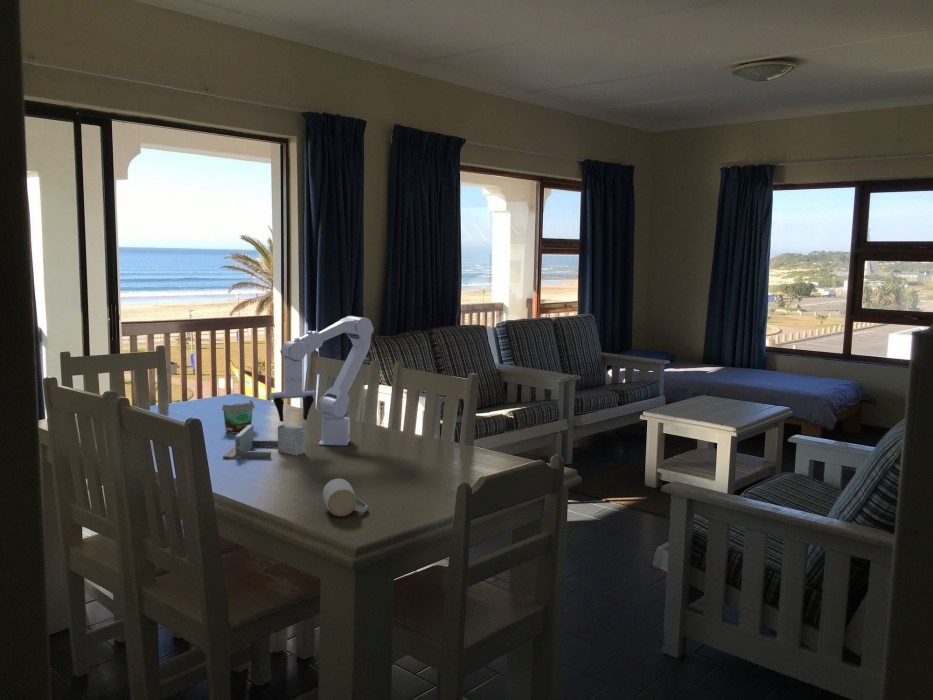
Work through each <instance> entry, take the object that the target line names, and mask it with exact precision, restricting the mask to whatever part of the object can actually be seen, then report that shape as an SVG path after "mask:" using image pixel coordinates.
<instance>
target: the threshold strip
mask: <svg viewBox="0 0 933 700" xmlns="http://www.w3.org/2000/svg"><path fill="white" fill-rule="evenodd" d="M222 459H223V460H234V459H236V451H235V445H234V446H233V447H232V448H231V449H229V451H228V452H227V453H225V454H224V455H223V457H222Z"/></svg>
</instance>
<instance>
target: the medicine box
mask: <svg viewBox="0 0 933 700" xmlns="http://www.w3.org/2000/svg"><path fill="white" fill-rule="evenodd" d="M305 435H306V431H305V426H301V425H296V424H291V423H285V424H281V425H278V426H277V441H278V447H277V452H278V453H281V452H282V454H286V453H287V454H286V455H290V454H291V456H295V455H296V456H300V455H303V454H302V453H304V454H305V453H306V438H305V437H306V436H305ZM299 454H300V455H299Z"/></svg>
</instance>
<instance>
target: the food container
mask: <svg viewBox="0 0 933 700" xmlns="http://www.w3.org/2000/svg"><path fill="white" fill-rule="evenodd" d="M254 409H255V404H254V401H253V400H251V399H249V402H247V403H246V402H245V403H235V404H229V405H228V404H222V408H221V411H223V417H224V428H225V432H226V431H227V432H226V433H229V432H241V431H242V430H243V429H244V428H246V427H247V426H248V425H252V420H253V410H254Z"/></svg>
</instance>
